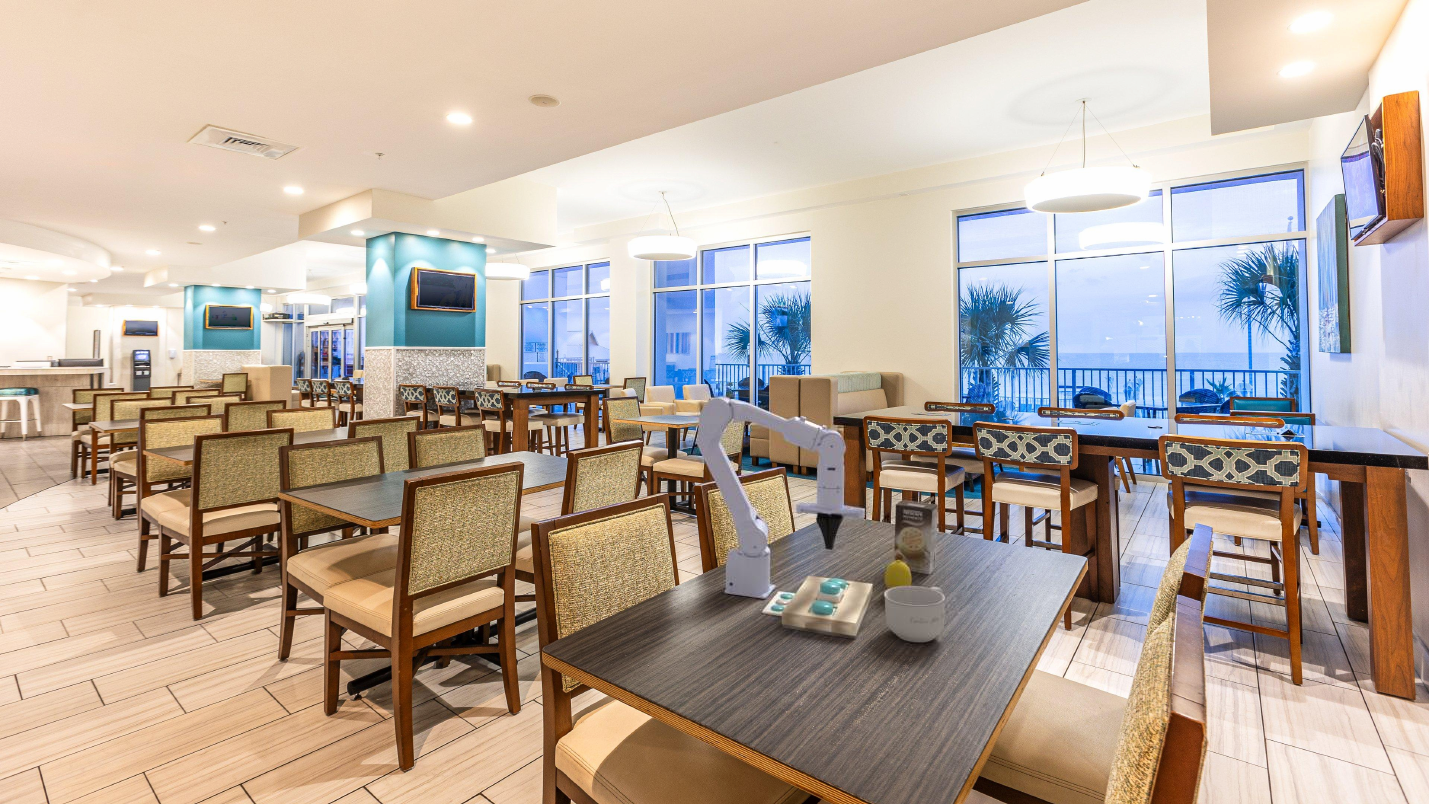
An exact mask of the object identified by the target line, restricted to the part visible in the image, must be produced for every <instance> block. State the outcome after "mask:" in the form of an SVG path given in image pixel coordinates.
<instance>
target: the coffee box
mask: <svg viewBox="0 0 1429 804" xmlns="http://www.w3.org/2000/svg"><path fill="white" fill-rule="evenodd" d="M938 509H939V505H938V504H936V503H935V504H934V503H929V502H923V501H913V500H907V499H901V500H899V501H898V502H897V503H896V504H895V516H894V517H895V518H894V520H895V521H894V543H893V544H894V550H893V552H894V553H893V562H894V561H897V560H900V561H901V562H903V563H905V564H906V565H907V566H908V567H909V569H910V572H914V573H920V574H925V575H931V573H933V572H934V570H935V569H936V568H937V567H936V566H937V565H936V563H937V559H936V558H937V542H938V541H937V539H938V538H937V537H938V535H937V533H938V513H939V512H938Z"/></svg>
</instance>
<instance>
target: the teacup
mask: <svg viewBox="0 0 1429 804" xmlns="http://www.w3.org/2000/svg"><path fill="white" fill-rule="evenodd" d="M883 597H884V605H885V612H884V613H885V620H886V623H887V626H888V628H889V629H890V631H891V632H892V633H893V634H895V635H896V636H897V637H898V638H899V639H901V640H903V641H906V642H911V643H926V642H927V643H928V642H930V641H932V640H934V639H936V637H937V636H939V635H940V634H941V633H942V632H943V630H944V628H945V619H946V618H945V617H946V616H945V614H946V613H945V611H946V610H945V601H946V597H945V595H944V593H943V590H942V589H941V588H940V587H938V586H932V587H930V588H929V587H925V586H920V585H919V586H917V585H911V586H899V587H894V588H890V589H888V588H887V590H885V591H884V593H883Z"/></svg>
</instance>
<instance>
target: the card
mask: <svg viewBox="0 0 1429 804" xmlns="http://www.w3.org/2000/svg"><path fill="white" fill-rule="evenodd" d="M795 594H796V592H795V593H794V592H786V591H777V593H776V594H775V595H774V596H773V598H772V599H771V600H770V601H769V602H768V604H767V605H766V606H765V607H764V609H763V610H762V614H766V615H772V616H778V617H782V611H783V610H784V609H785V607H786V606H787V604H788V603H789V602H790V600H791V599H792V598H793V596H794V595H795Z"/></svg>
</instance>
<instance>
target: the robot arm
mask: <svg viewBox="0 0 1429 804" xmlns="http://www.w3.org/2000/svg"><path fill="white" fill-rule="evenodd" d="M732 421H733V424H738V423H742V422H749V423H753V424H756V425H758V426H761V427H764V428H766V429H768V430H772V431H776V432H778V433H781V434H782V436H783V438H784V440H785V442H787V443H790V444H793V445H795V446H798V447H800V448H803V449H805V450H807V451H810V452H818V463H817V464H816V465H817V468H816V469H817V471H816V473H817V474H816V477H817V478H816V479H817V481H816V502H798V503H796V505H795V507H796V508H795V509H796V511H795V512H796V514H810V515H811V514H812V515H813V514H814V515H816V518H815V522H816V523H817V525H818V527H819V529H820V532H821V534H822V539H823V541H824V547H825V550H831V551H832V550H833V549H834V547H835V540H836V536H837V534H838V531H839V528H840V525H841V524H842V521H843V520H844V519H845V518H852V519H853V518H854V519H855V518H856V519H858V520H864V519H865V515H866V512H865V511H866V510H865V509H866V508H862V507H856V506H850V505H845V503H844V502H845V501H844V500H845V499H844V498H845V495H844V494H845V493H844V492H845V465H844V462H845V458H844V455H845V453H846V450H847V446H846V442H845V440H844V437H843V436H842V435H841V434H840V432H838V431H836V430H835V429H834V428H828V426H827V425H825V424H823V425H822V426H821V425H818V424H815V422H814V423H813V422H811V421H808V420H807V417H805V416H803V415H801V416H800V417H798V416H792V417H791V418H789V419H788V418H787V419H786V418H784V417H782V416H779V415H778V414H774V413H773V412H771V411H768V410H765V409H763V408H760V407H759V406H756V405H754V404H751V403H749V402H746V401H742V400H739V399H734V398H732V399H731V398H730V397H728V396H724V395H720V396H715V397H714V398H711V399H710V400H708V401H706V403H705V404H704V405H703V407H702V409H701V412H699V415H698V428H697V437H696V439H697V440H696V445H697V447H698V449H699V452H700V453H701V456H702V458H703V460H704V462H705V464H706V467H707V468H708V470H709V473H710V474H711V476H712V478H713V481H715V484H716V487H717V488H718V490H719V492H720V494H721V496H722V499H723V501H724V503H725V505H726V506H727V508H728V511H729V512H730V514H731V518H732V521H733V526H734V529H735V531H736V534H737V544H738V547H737V549H736V548H734V549H733V548H731V549H730V550H729V551H728V554H727V556H726V560H725V590H724V593H725V594H729V595H734V596H735V595H736V596H742V597H750V598H757V599H765V600H766V599H767V598H768V597H769V595H770V594H771V593H772V592H773V591H774V590H775V588H776V584H773V583H771V548H769V547H768V538H769V535H770V528H769V524H768V523H767V522H766V521H765V519H763V518H762V517H761V516H760V515H759V514H758V511H757V510H756V509H755V507H754V506H753V505H752V504H751V502H750V499H749V498H748V496H747V493H746V491H745V489H744V488H743V485H742V484H741V481H740V479H739V477H738V475H737V473H736V471H735V469H734V467H733V465H732V462H731V461H730V459H729V457H728V455H727V453H726V450H725V448H724V446H723V445H722V439H723V437H724V433H725V432H726V429H727V427H728V426H729V424H730V423H731V422H732Z"/></svg>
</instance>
